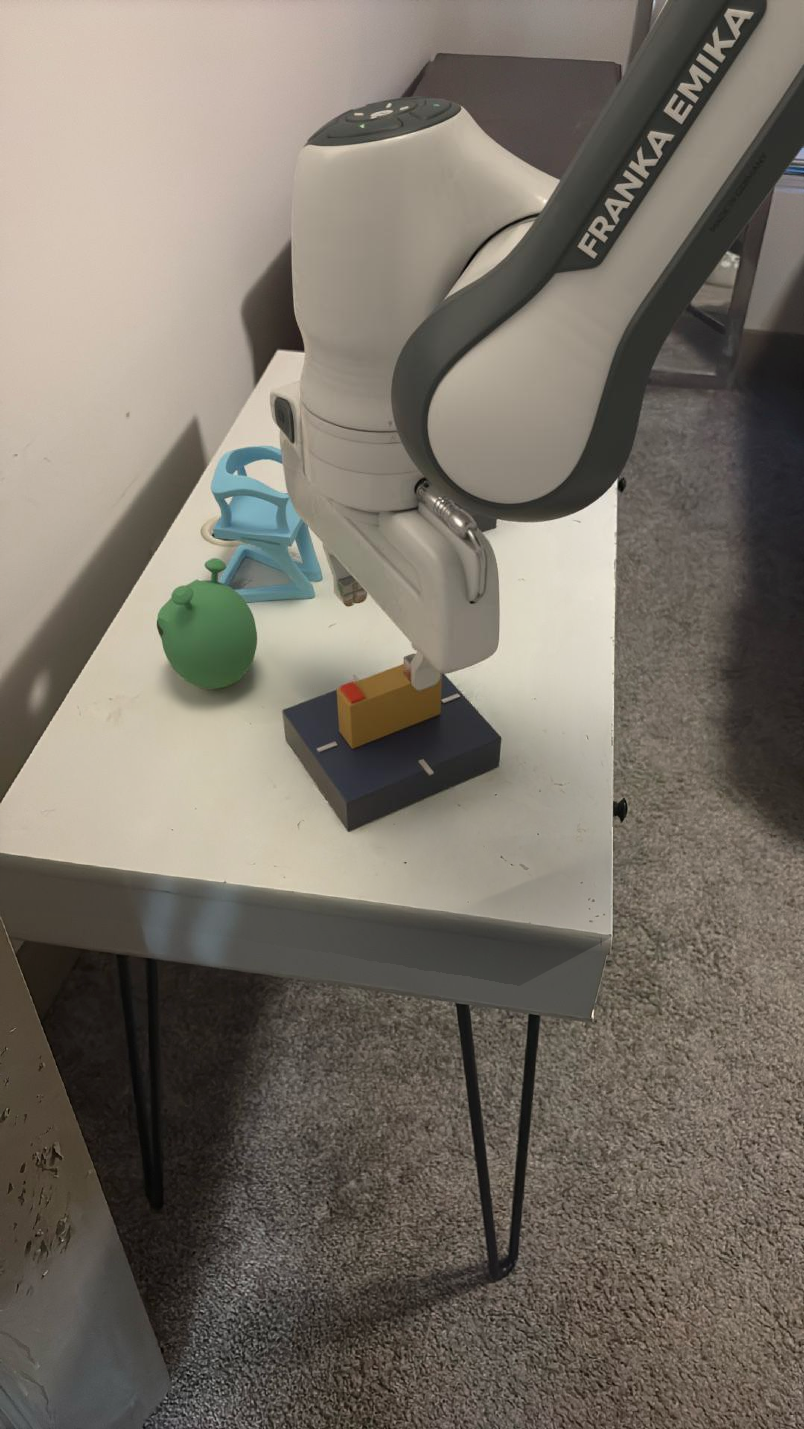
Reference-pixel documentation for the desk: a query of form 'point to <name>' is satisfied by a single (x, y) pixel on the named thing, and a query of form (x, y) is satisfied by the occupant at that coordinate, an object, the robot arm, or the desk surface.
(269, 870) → the desk surface
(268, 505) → the chair
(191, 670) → the alien toy
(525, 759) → the desk surface
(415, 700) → the tan battery-shaped brick
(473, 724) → the navy square base
